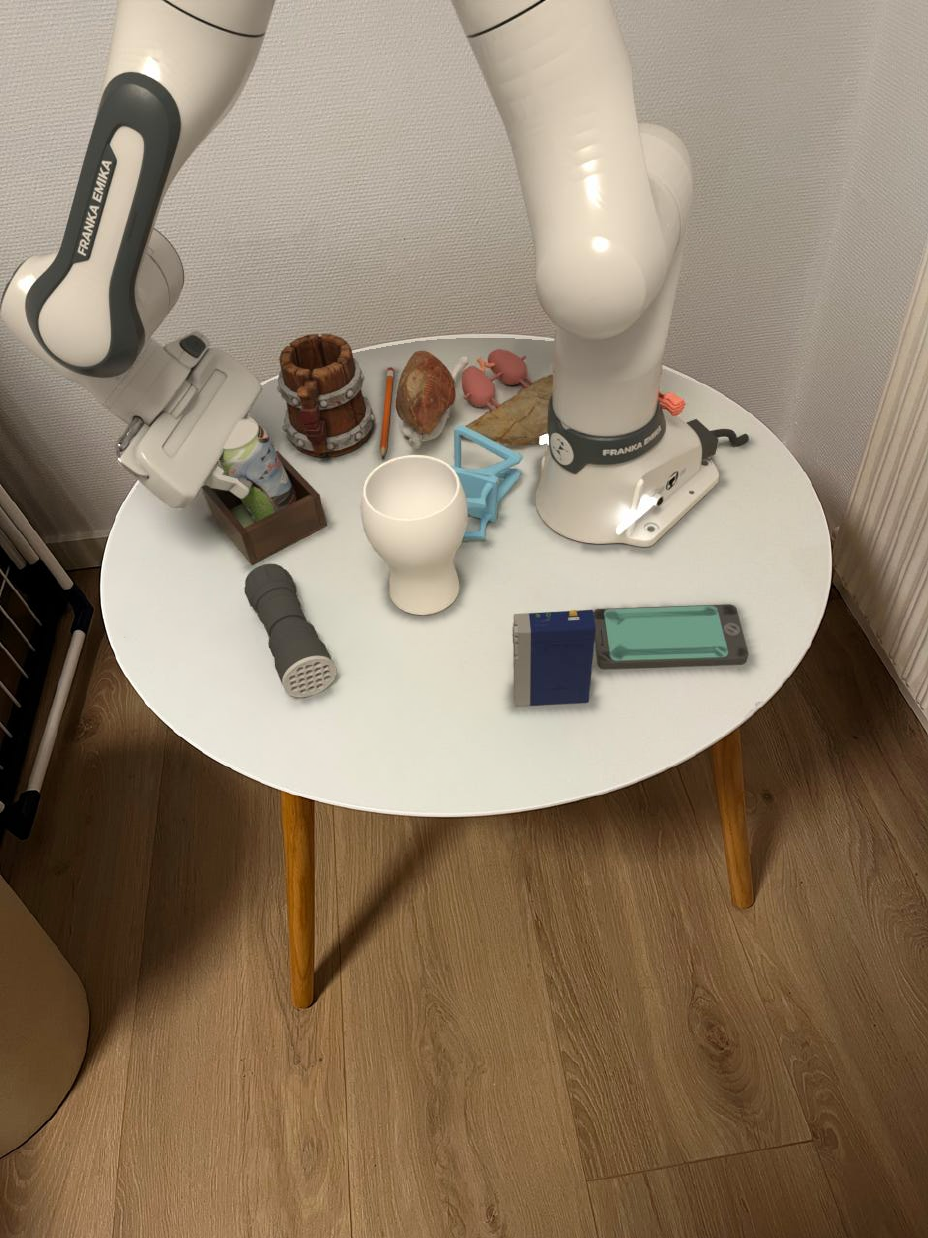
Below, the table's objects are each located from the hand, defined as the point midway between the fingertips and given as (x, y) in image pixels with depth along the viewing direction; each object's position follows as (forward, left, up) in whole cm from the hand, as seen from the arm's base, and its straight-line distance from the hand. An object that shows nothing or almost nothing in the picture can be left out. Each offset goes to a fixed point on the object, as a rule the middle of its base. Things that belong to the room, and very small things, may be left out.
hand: (259, 472), depth 101 cm
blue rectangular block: (-10, +40, -8) cm, 42 cm away
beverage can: (0, -1, -7) cm, 7 cm away
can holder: (0, 0, -8) cm, 8 cm away
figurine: (-26, -4, -8) cm, 27 cm away
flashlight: (+7, +18, -8) cm, 21 cm away
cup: (-8, +20, -8) cm, 23 cm away
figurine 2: (-36, 0, -8) cm, 37 cm away
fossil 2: (-23, -6, +1) cm, 24 cm away
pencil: (-21, -9, -7) cm, 24 cm away
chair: (-25, +10, -4) cm, 27 cm away
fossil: (-38, +10, -3) cm, 39 cm away
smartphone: (-24, +42, -8) cm, 49 cm away
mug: (-13, -9, -8) cm, 18 cm away
